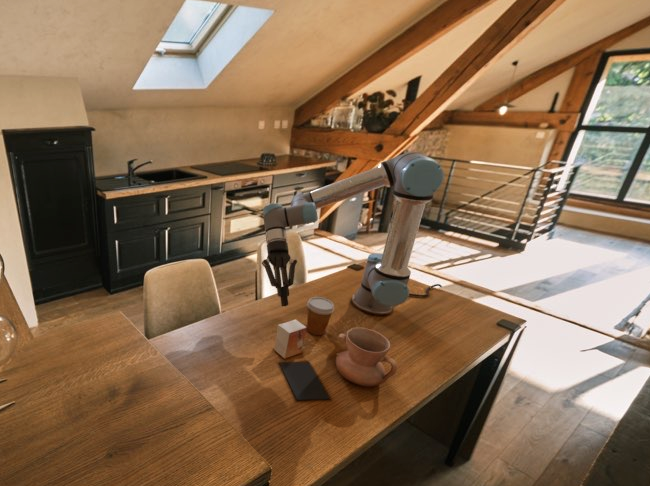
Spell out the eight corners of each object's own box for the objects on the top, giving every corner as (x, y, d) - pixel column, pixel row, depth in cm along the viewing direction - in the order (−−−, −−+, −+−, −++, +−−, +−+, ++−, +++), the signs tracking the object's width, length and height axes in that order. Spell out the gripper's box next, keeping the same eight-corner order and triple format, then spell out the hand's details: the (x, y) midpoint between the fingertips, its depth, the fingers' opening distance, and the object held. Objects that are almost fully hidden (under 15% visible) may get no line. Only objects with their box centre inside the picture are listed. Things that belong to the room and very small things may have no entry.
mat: (279, 363, 126) (279, 362, 126) (308, 362, 127) (308, 361, 127) (297, 400, 111) (297, 399, 111) (329, 399, 112) (330, 398, 112)
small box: (284, 359, 128) (289, 333, 124) (273, 349, 132) (277, 324, 128) (302, 352, 131) (307, 327, 127) (290, 343, 136) (295, 318, 132)
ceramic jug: (321, 369, 124) (330, 333, 118) (344, 352, 132) (353, 317, 127) (377, 404, 111) (389, 365, 105) (398, 382, 119) (411, 345, 114)
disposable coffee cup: (325, 324, 148) (331, 297, 143) (331, 339, 139) (338, 311, 134) (300, 322, 148) (305, 295, 144) (305, 336, 140) (310, 309, 135)
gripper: (290, 246, 147) (298, 307, 138) (257, 246, 145) (263, 307, 137) (297, 239, 140) (307, 302, 131) (262, 239, 138) (270, 303, 130)
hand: (284, 305), depth 134 cm, fingers closed
